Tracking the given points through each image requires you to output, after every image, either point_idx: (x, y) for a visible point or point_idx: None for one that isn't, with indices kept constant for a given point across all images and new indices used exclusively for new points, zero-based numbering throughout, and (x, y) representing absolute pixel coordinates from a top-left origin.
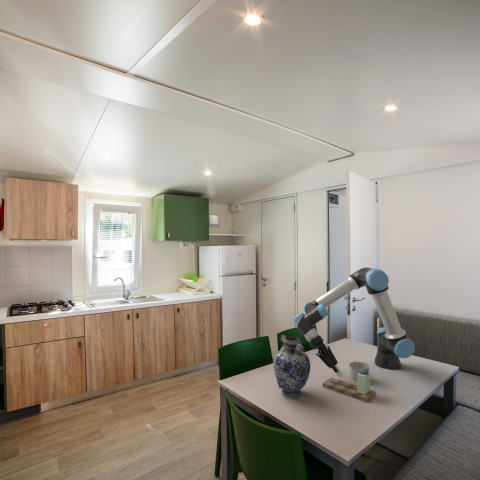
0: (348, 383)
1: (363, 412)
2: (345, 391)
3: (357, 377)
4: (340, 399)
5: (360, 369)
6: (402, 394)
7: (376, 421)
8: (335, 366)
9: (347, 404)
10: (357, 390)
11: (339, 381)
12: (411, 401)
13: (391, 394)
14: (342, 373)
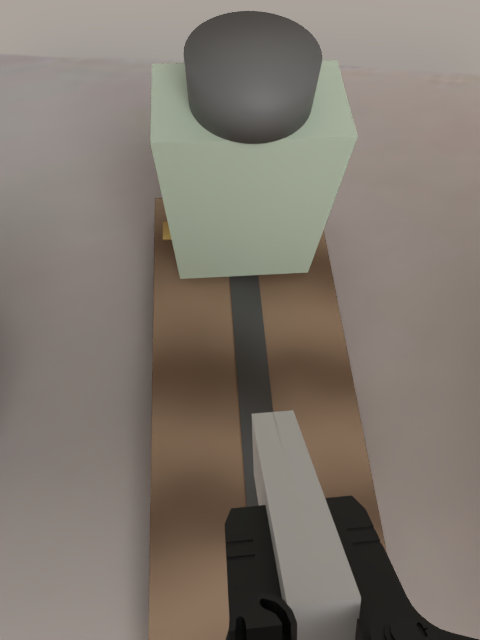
0: (171, 430)
1: (446, 184)
2: (347, 367)
3: (342, 165)
4: (444, 363)
5: (276, 80)
6: (19, 122)
7: (461, 114)
8: (348, 583)
9: (457, 290)
10: (310, 258)
11: (196, 538)
12: (89, 73)
13: (67, 162)
14: (277, 435)
